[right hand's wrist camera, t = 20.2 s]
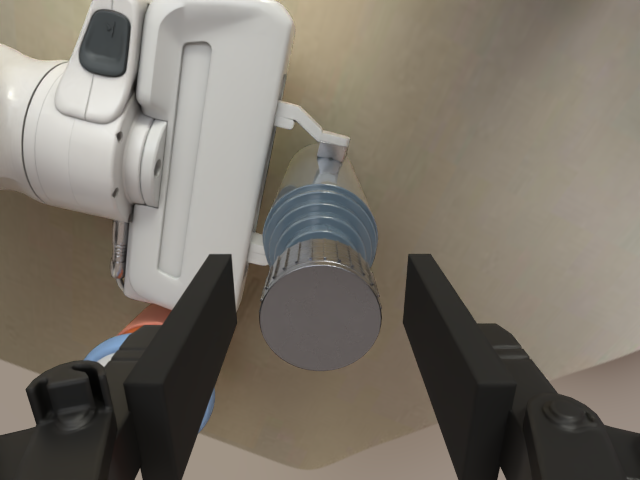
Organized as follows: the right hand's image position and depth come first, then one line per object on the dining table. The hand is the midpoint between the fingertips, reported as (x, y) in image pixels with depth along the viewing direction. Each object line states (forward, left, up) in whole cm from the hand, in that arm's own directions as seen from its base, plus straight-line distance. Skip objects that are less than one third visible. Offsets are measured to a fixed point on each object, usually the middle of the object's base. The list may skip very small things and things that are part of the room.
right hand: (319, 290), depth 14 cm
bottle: (0, 0, -19) cm, 19 cm away
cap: (0, 0, +2) cm, 2 cm away
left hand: (+1, +1, -13) cm, 13 cm away
